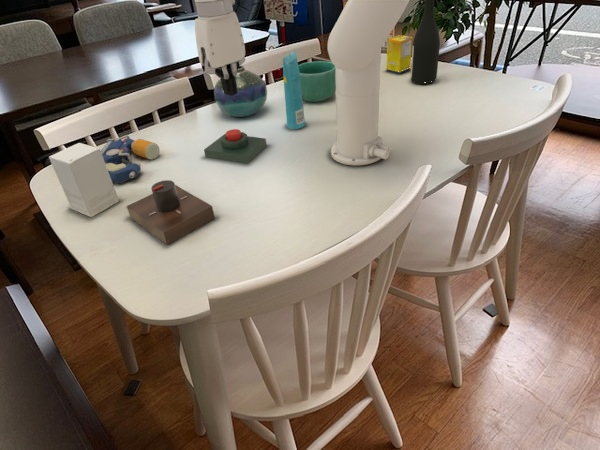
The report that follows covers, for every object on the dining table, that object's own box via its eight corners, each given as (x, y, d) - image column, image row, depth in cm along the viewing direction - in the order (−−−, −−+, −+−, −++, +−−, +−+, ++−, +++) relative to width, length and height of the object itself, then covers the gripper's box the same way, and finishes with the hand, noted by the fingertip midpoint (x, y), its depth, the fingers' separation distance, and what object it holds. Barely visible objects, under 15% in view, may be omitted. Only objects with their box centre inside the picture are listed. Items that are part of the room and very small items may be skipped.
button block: (266, 146, 115) (264, 131, 113) (247, 164, 108) (244, 149, 106) (226, 140, 120) (224, 126, 117) (205, 157, 112) (202, 142, 110)
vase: (212, 110, 139) (203, 66, 131) (259, 99, 143) (254, 56, 136) (225, 127, 127) (217, 79, 119) (276, 115, 131) (271, 69, 124)
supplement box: (397, 67, 160) (398, 34, 153) (410, 70, 156) (412, 36, 149) (385, 71, 157) (386, 38, 150) (399, 74, 153) (401, 40, 146)
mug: (319, 108, 133) (317, 76, 128) (288, 100, 140) (285, 70, 135) (352, 91, 143) (352, 60, 138) (321, 85, 150) (320, 55, 145)
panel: (215, 218, 90) (212, 205, 88) (167, 245, 84) (163, 231, 82) (176, 195, 98) (173, 182, 97) (130, 218, 92) (126, 205, 91)
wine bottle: (405, 82, 146) (411, -23, 129) (421, 75, 150) (429, -27, 133) (424, 87, 141) (434, -21, 124) (441, 81, 145) (452, -26, 127)
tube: (292, 120, 128) (285, 49, 117) (308, 121, 126) (303, 49, 115) (283, 131, 122) (275, 58, 111) (300, 132, 121) (294, 58, 109)
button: (244, 136, 112) (243, 129, 111) (236, 142, 110) (235, 135, 109) (231, 134, 114) (230, 128, 113) (224, 140, 111) (222, 134, 110)
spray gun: (168, 143, 121) (113, 148, 122) (163, 128, 118) (108, 133, 119) (146, 185, 104) (82, 189, 105) (140, 169, 101) (75, 174, 102)
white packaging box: (120, 201, 98) (101, 148, 91) (90, 218, 93) (68, 163, 86) (99, 193, 102) (79, 141, 95) (70, 209, 97) (46, 156, 90)
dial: (172, 197, 92) (166, 176, 89) (184, 204, 89) (178, 183, 87) (153, 206, 89) (146, 185, 87) (165, 214, 87) (158, 193, 84)
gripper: (231, 0, 102) (245, 82, 112) (174, 15, 94) (195, 101, 104) (252, 2, 97) (265, 86, 108) (195, 17, 89) (215, 107, 100)
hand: (231, 93), depth 106 cm, fingers closed
